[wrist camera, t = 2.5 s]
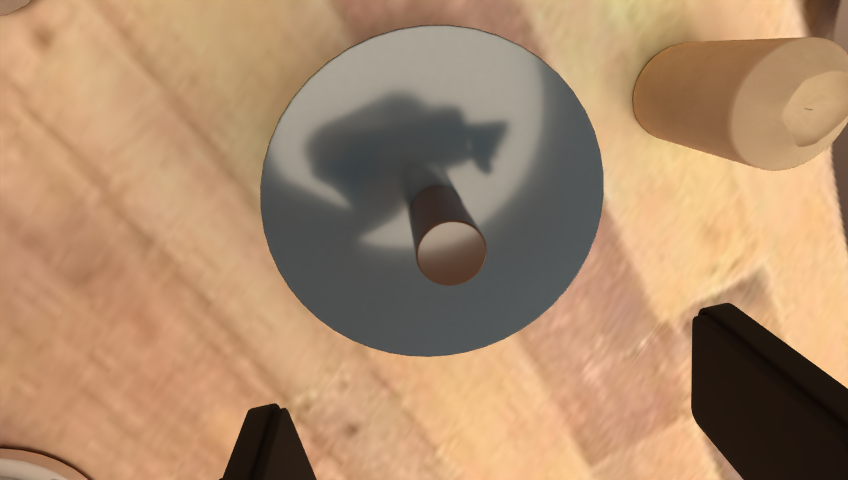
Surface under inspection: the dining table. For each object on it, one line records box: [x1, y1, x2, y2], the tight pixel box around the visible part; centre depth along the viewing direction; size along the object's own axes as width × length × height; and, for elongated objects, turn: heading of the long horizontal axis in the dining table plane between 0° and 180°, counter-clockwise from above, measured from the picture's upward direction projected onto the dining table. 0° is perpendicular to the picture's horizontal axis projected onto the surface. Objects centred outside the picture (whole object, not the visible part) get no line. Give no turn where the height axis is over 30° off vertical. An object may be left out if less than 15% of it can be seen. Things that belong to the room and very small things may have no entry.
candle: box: [633, 37, 848, 171], centre depth 23 cm, size 6×6×10 cm
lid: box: [260, 25, 603, 357], centre depth 20 cm, size 16×16×6 cm
